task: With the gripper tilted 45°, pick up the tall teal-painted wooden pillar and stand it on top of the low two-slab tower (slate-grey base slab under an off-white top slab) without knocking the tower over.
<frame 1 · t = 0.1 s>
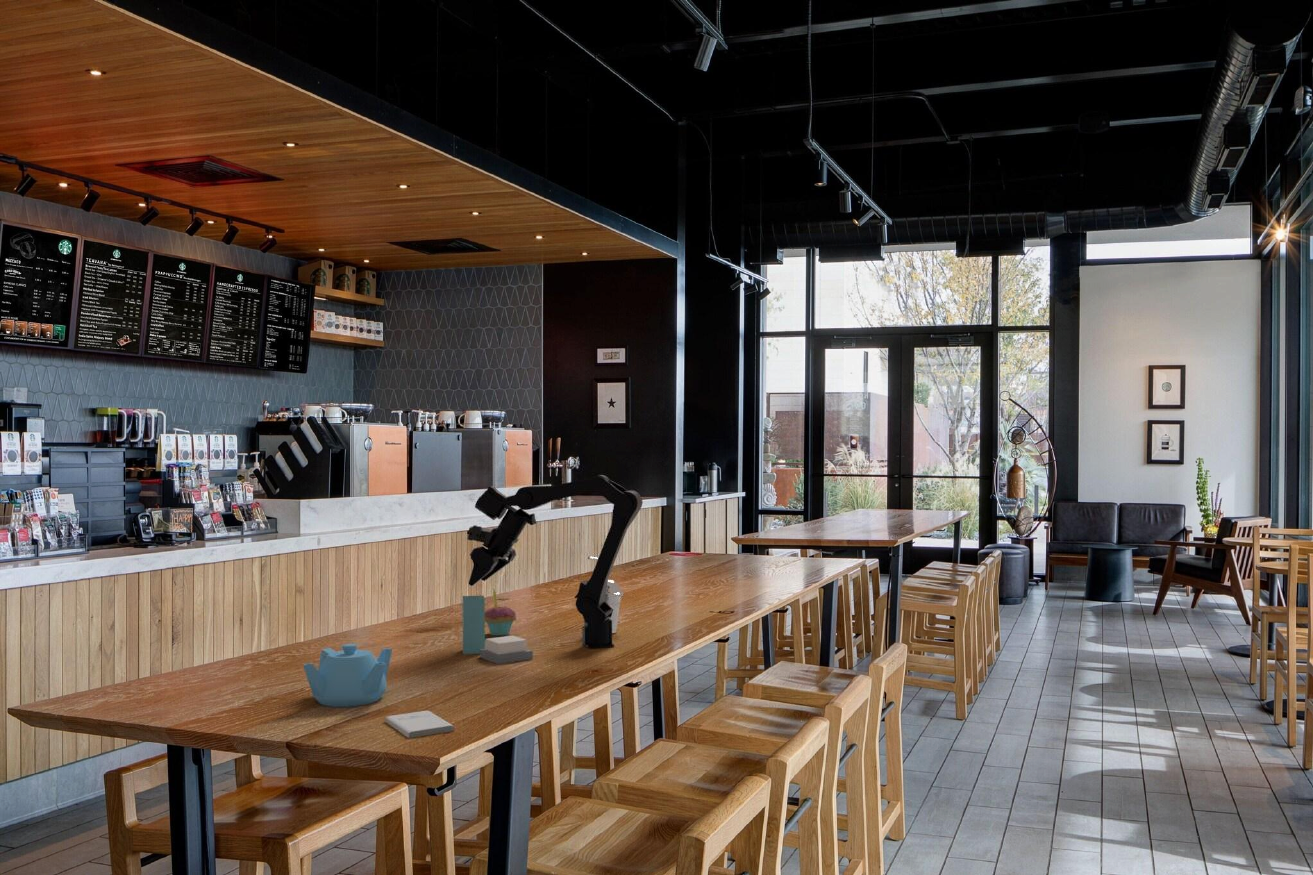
hand: (476, 582, 266), 15 cm above the table, tool tilted 35°, fingers open, 9 cm apart
teapot: (350, 700, 207), on the table
tower base slab: (506, 660, 246), on the table, touching tower top slab
external hard drive: (419, 730, 188), on the table
teal pillar: (473, 651, 254), on the table
tower top slab: (506, 650, 246), point 2 cm above the table, touching tower base slab
cupcake: (499, 634, 277), on the table
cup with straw: (606, 632, 279), on the table
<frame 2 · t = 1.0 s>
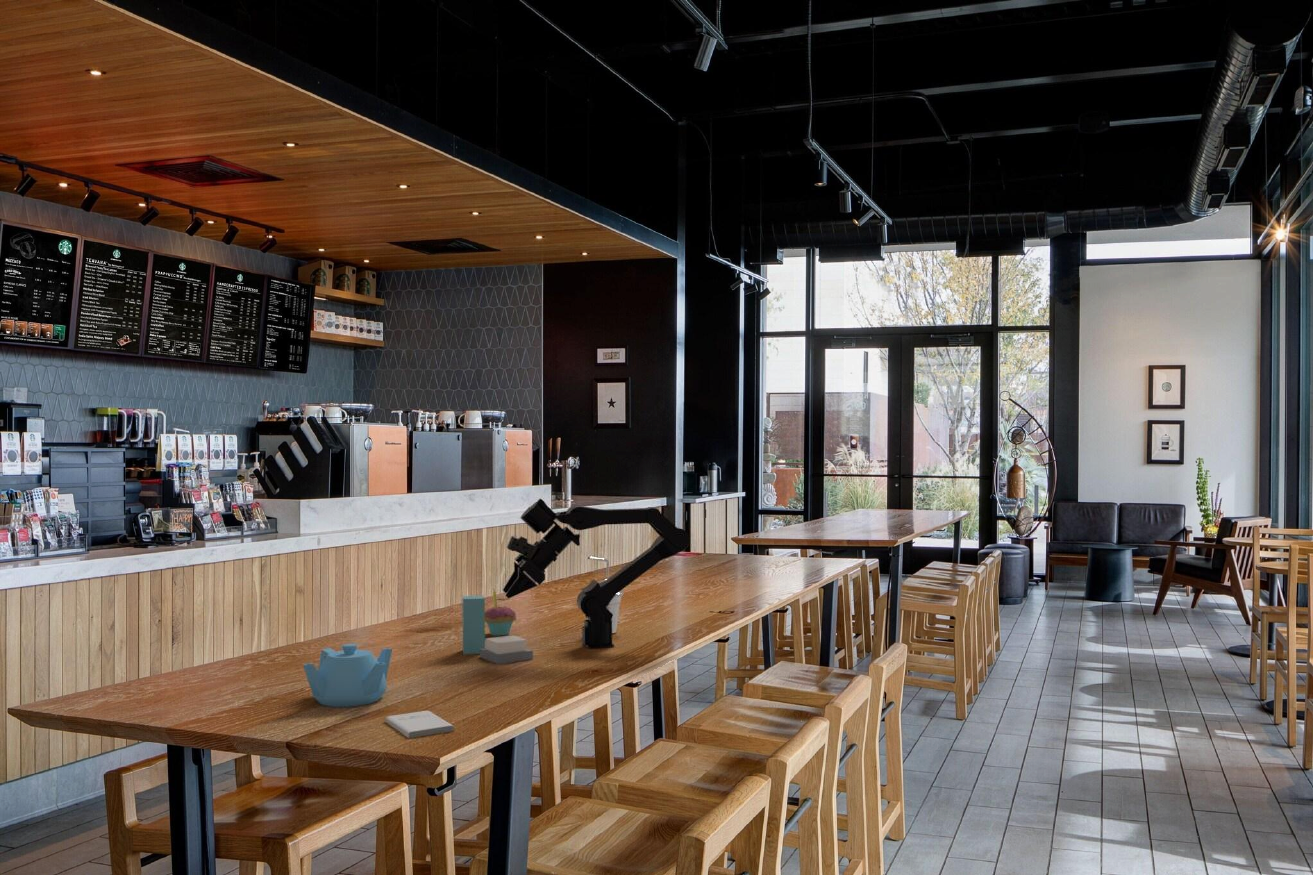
hand: (505, 594, 256), 13 cm above the table, tool tilted 45°, fingers open, 9 cm apart
nothing on the table moved.
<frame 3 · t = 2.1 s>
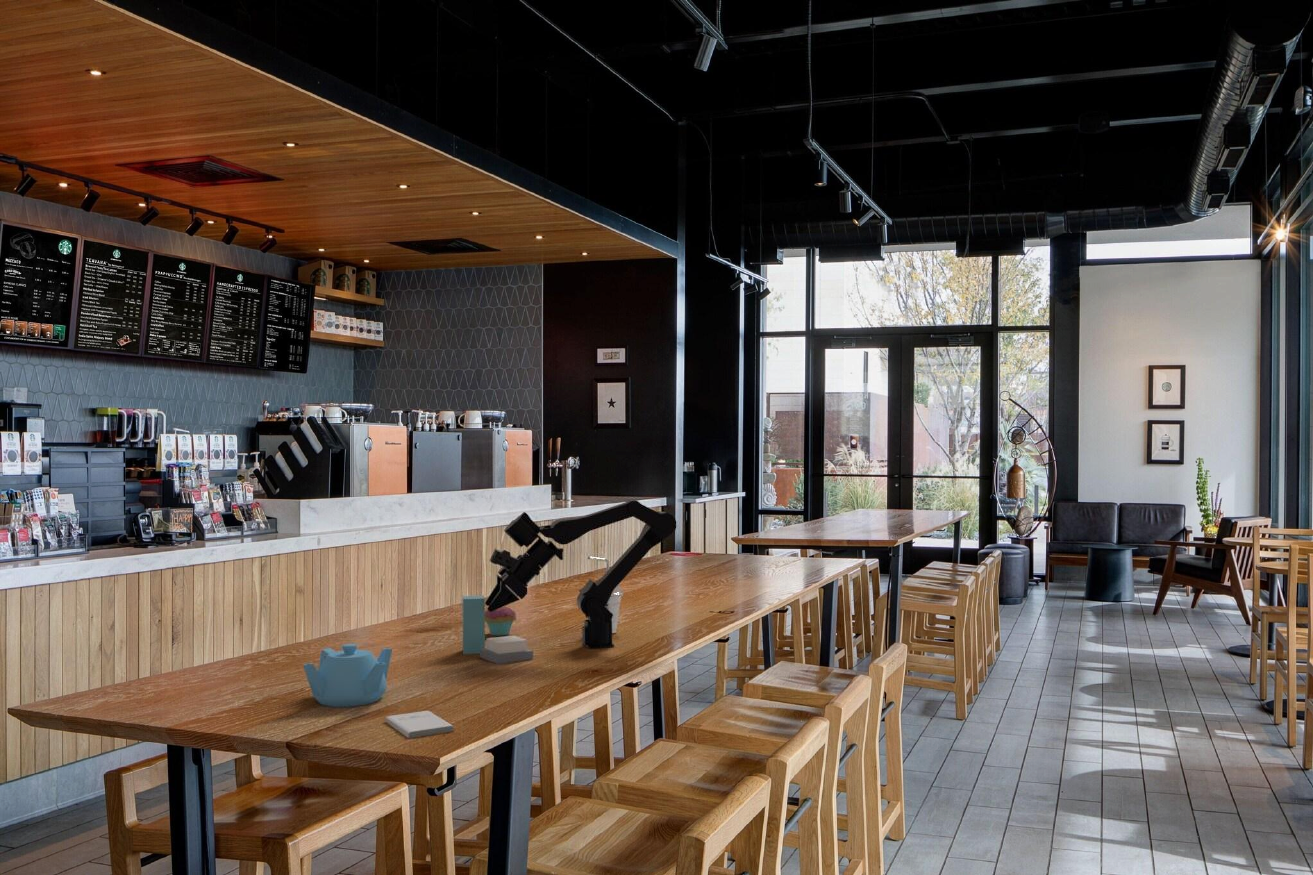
hand: (487, 607, 255), 10 cm above the table, tool tilted 45°, fingers open, 9 cm apart
nothing on the table moved.
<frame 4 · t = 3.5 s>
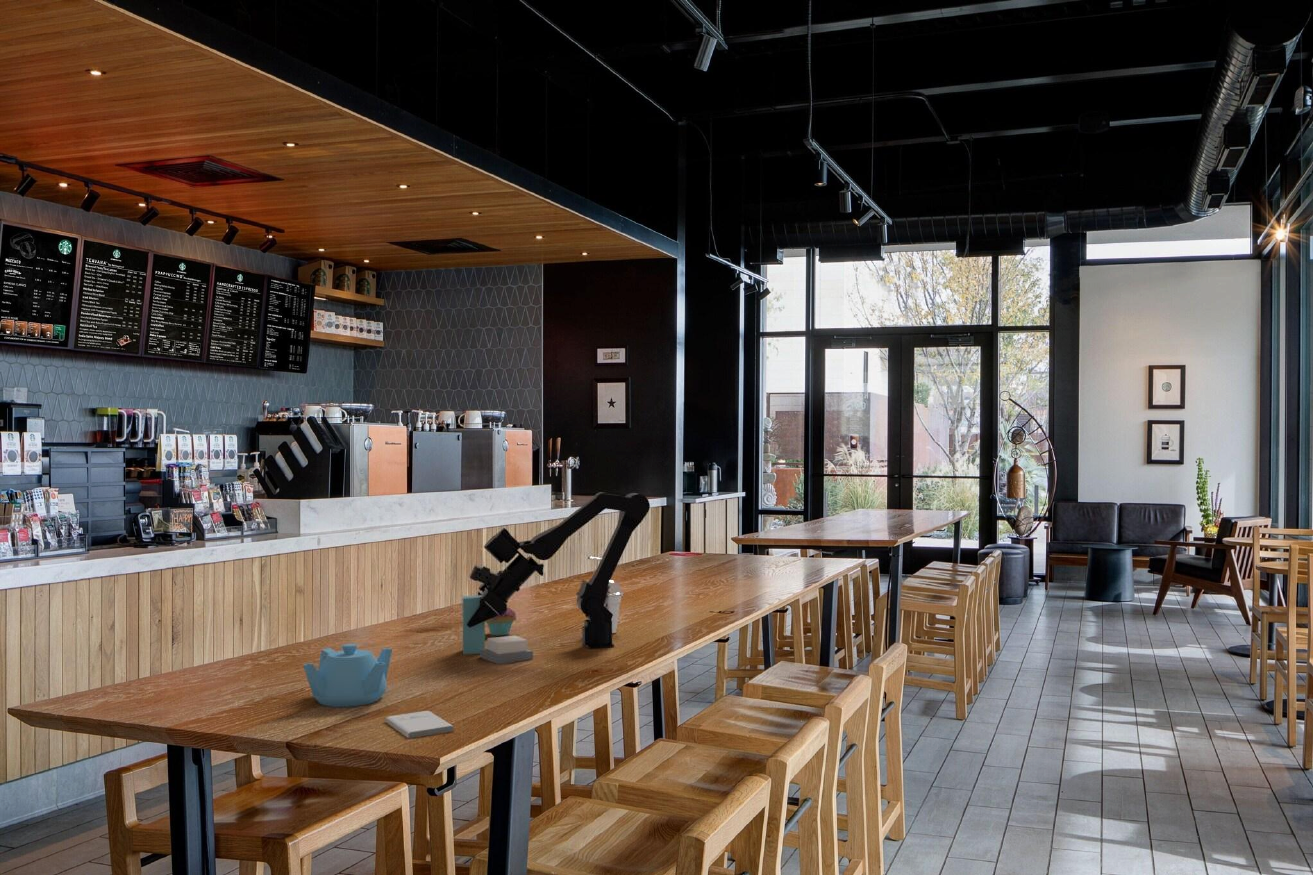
hand: (467, 624, 254), 7 cm above the table, tool tilted 45°, fingers closed on teal pillar, 5 cm apart
tower base slab: (506, 660, 246), on the table
teal pillar: (473, 651, 254), on the table, touching gripper
tower top slab: (507, 650, 246), point 2 cm above the table
everything else where it was.
when the fingers open (12 cm above the table, at t = 7.8 s): teal pillar drops 1 cm, resting on tower top slab.
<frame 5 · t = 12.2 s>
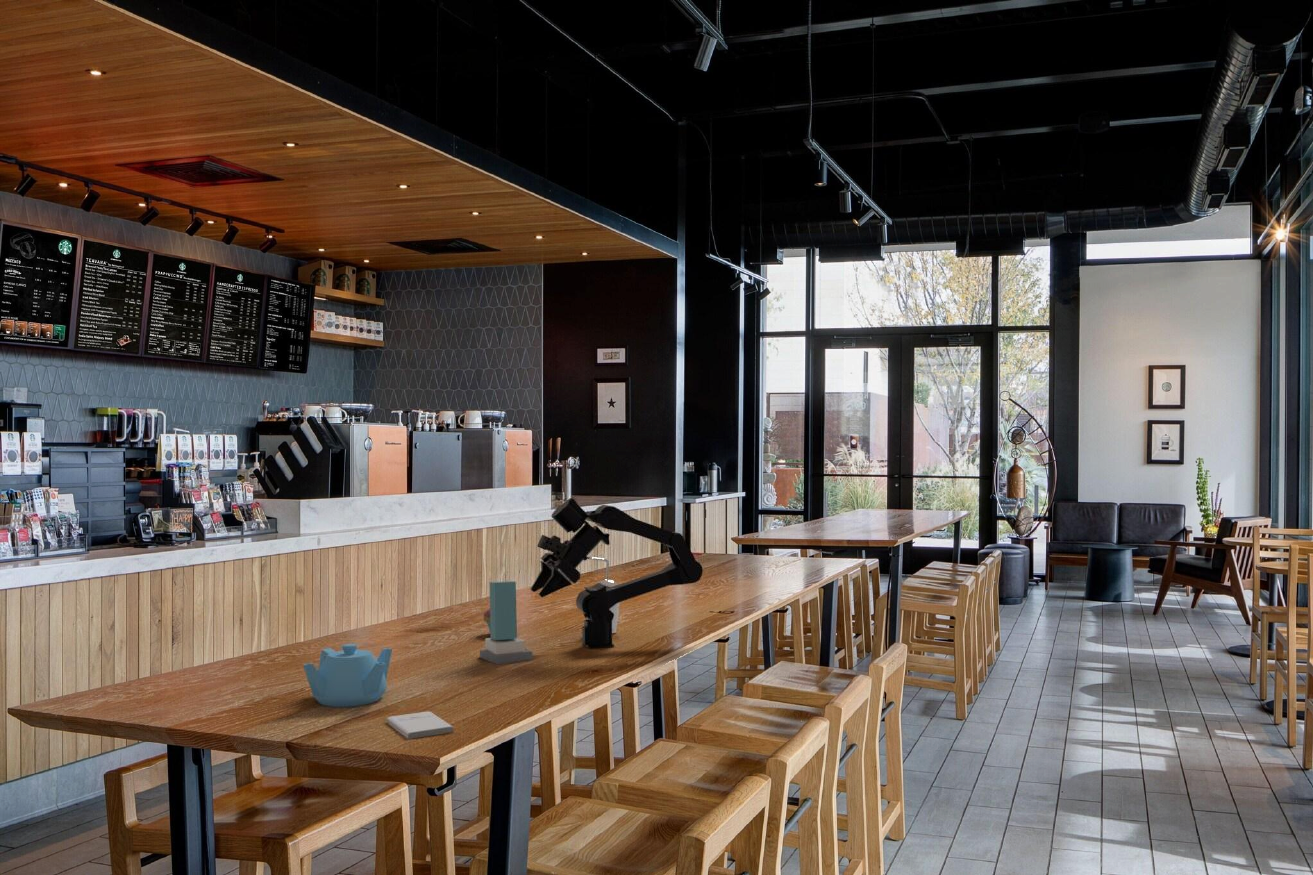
hand: (536, 593, 256), 14 cm above the table, tool tilted 45°, fingers open, 9 cm apart
teal pillar: (503, 638, 246), point 5 cm above the table, tilted 6°, touching tower top slab
tower top slab: (504, 650, 246), point 2 cm above the table, touching teal pillar
everything else where it was.
at the end: teal pillar 0.4 cm off-centre on the tower top slab, point 2.6 cm above the tower top slab's base; teal pillar tilted 1°; tower top slab moved 0.7 cm from its start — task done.
